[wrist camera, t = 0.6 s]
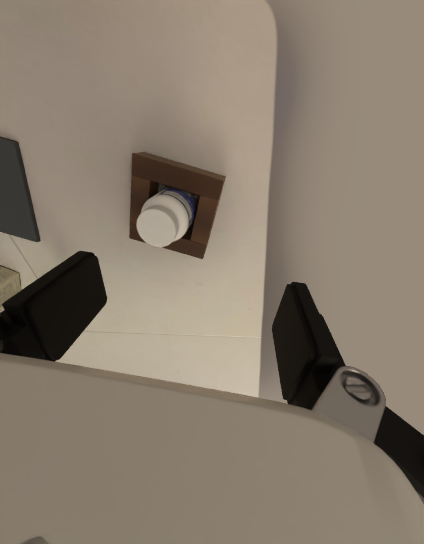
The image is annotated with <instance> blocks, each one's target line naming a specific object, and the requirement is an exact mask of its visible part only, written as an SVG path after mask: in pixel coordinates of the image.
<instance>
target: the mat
mask: <svg viewBox="0 0 424 544" xmlns="http://www.w3.org/2000/svg"><path fill="white" fill-rule="evenodd" d="M0 232H3V233H7V234H10V235H14V236H17V237H21V238H24V239H28V240H31V241H35V242H39V241H40V238H39V233H38V229H37V224H36V220H35V215H34V211H33V206H32V202H31V198H30V193H29V189H28V184H27V180H26V175H25V171H24V166H23V162H22V157H21V153H20V148H19V144H18V142H17V141H13V140H10V139H7V138H3V137H0Z"/></svg>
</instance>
